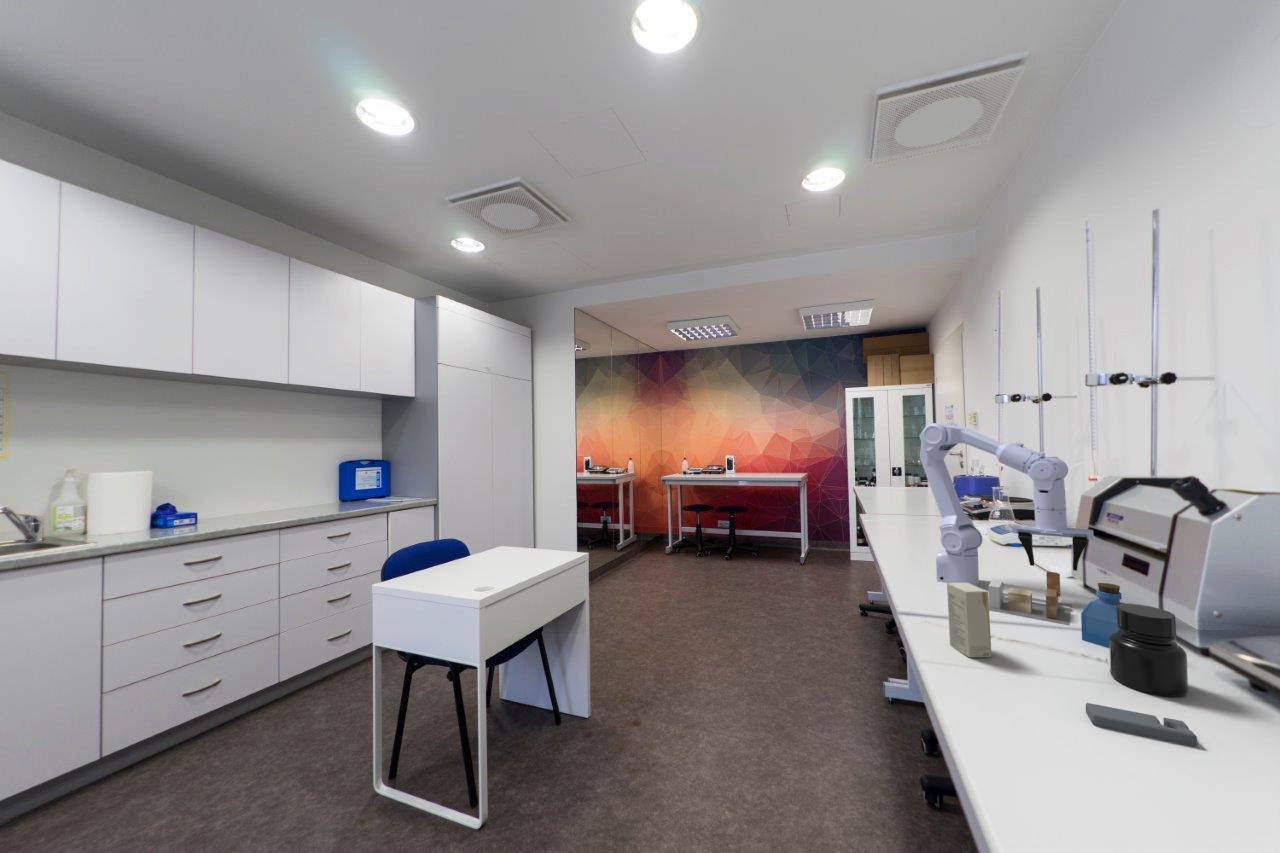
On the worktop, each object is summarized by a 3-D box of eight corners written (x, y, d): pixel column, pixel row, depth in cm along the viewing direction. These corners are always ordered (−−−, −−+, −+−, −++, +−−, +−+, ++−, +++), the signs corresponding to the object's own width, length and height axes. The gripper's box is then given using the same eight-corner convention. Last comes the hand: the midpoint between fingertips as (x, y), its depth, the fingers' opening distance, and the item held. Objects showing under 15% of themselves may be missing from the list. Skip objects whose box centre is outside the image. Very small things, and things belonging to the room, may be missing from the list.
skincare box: (992, 658, 91) (990, 592, 91) (968, 658, 91) (967, 592, 91) (970, 643, 97) (968, 581, 97) (947, 643, 97) (946, 581, 97)
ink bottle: (1154, 671, 85) (1152, 601, 85) (1208, 699, 76) (1206, 621, 76) (1093, 670, 86) (1091, 601, 86) (1139, 697, 77) (1137, 620, 77)
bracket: (1085, 715, 73) (1085, 701, 73) (1184, 734, 68) (1183, 720, 68) (1093, 729, 70) (1093, 715, 70) (1198, 751, 65) (1197, 735, 65)
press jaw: (1044, 616, 107) (1043, 584, 107) (1047, 600, 116) (1046, 571, 116) (1058, 618, 105) (1057, 587, 105) (1060, 602, 115) (1059, 573, 115)
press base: (987, 614, 112) (987, 587, 112) (997, 596, 124) (996, 572, 124) (1069, 630, 102) (1068, 601, 102) (1071, 608, 114) (1070, 582, 114)
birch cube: (1008, 609, 112) (1008, 592, 112) (1010, 604, 115) (1010, 587, 115) (1030, 613, 109) (1030, 595, 109) (1032, 608, 112) (1031, 591, 112)
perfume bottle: (1082, 645, 95) (1080, 583, 95) (1098, 639, 98) (1096, 578, 98) (1124, 658, 90) (1121, 592, 90) (1140, 651, 92) (1138, 587, 92)
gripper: (1009, 508, 117) (1012, 566, 117) (1092, 513, 107) (1096, 575, 107) (1012, 505, 122) (1015, 560, 122) (1091, 509, 113) (1094, 568, 112)
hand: (1053, 567), depth 115 cm, fingers open, 7 cm apart
